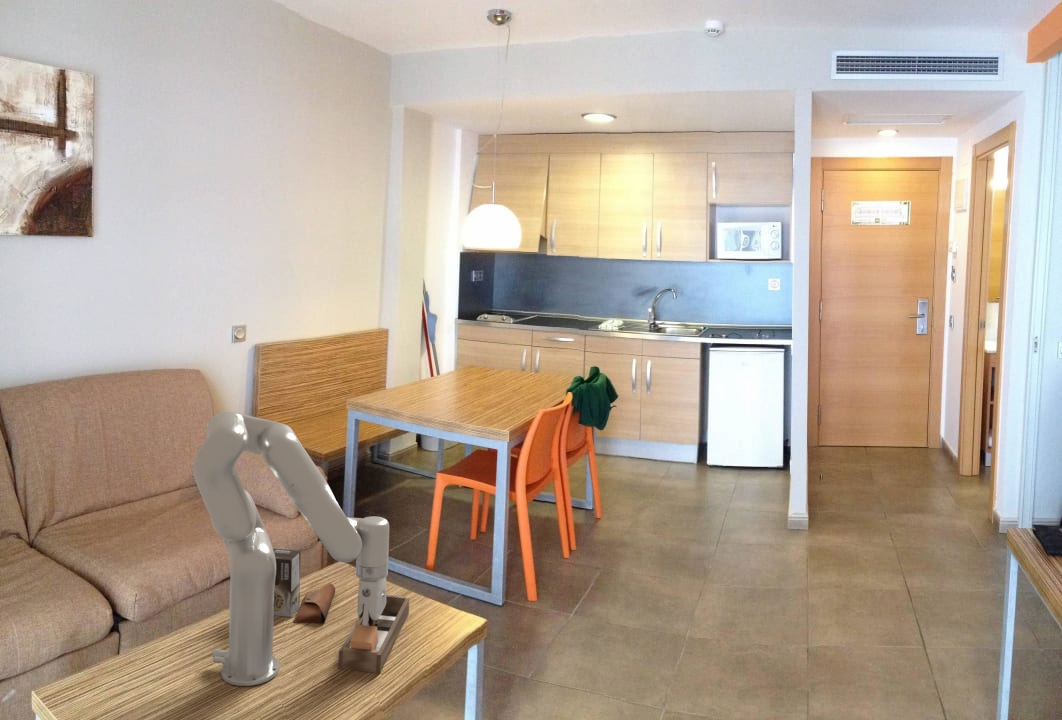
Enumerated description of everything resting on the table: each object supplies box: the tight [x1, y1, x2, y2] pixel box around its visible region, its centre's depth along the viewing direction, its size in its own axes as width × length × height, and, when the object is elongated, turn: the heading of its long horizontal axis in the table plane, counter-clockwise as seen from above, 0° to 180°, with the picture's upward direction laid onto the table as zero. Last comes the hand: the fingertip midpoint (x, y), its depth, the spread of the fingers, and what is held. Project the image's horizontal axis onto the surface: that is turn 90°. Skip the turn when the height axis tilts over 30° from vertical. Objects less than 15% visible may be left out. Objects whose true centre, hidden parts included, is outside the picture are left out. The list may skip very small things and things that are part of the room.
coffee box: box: [273, 548, 301, 618], centre depth 211 cm, size 9×6×16 cm
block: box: [351, 625, 378, 650], centre depth 189 cm, size 5×5×5 cm
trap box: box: [338, 594, 410, 674], centre depth 201 cm, size 10×30×5 cm, turn 176°
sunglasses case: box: [293, 583, 336, 625], centre depth 215 cm, size 18×7×7 cm
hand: (369, 639), depth 194 cm, fingers closed
